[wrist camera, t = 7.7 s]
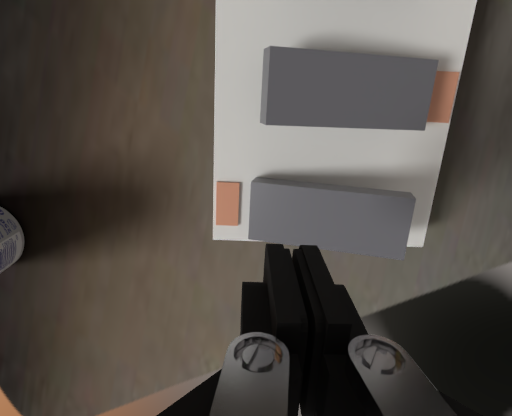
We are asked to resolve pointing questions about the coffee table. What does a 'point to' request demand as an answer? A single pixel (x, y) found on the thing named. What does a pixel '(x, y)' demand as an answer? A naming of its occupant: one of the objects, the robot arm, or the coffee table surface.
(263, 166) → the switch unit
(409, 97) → the rocker middle
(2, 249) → the energy drink
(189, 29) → the coffee table surface
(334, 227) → the block
